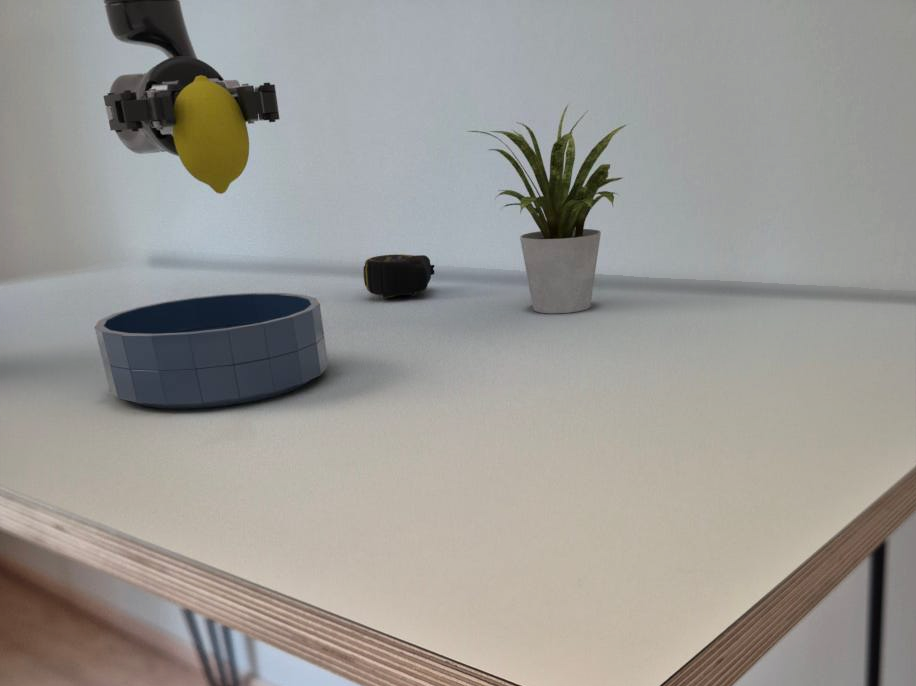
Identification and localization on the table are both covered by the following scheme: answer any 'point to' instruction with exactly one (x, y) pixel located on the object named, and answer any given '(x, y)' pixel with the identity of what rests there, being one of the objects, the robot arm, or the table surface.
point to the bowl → (213, 349)
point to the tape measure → (397, 274)
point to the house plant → (560, 222)
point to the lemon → (210, 134)
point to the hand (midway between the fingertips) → (210, 105)
